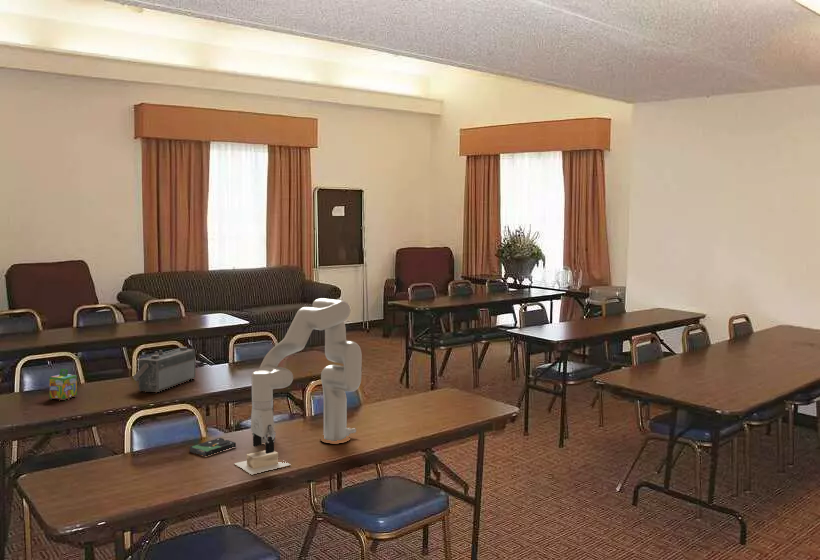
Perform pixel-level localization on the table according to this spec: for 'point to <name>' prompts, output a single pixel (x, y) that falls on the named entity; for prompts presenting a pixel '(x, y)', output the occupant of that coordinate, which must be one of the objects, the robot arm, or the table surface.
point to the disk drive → (212, 446)
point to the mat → (261, 469)
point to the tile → (262, 459)
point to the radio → (165, 369)
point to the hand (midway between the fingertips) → (263, 449)
